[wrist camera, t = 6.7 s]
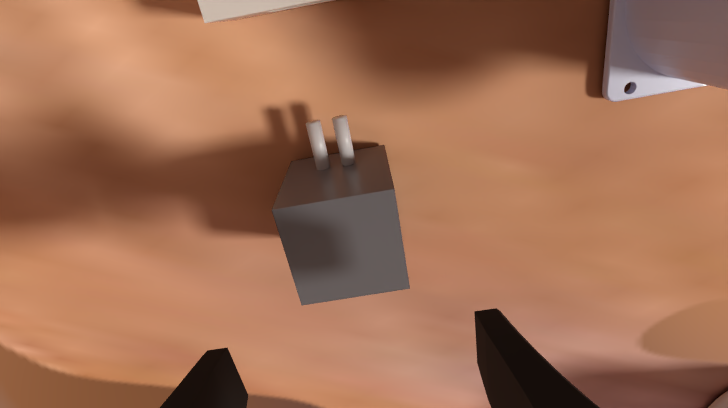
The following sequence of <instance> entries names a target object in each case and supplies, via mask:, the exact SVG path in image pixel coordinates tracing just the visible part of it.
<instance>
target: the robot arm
mask: <svg viewBox="0 0 728 408" xmlns="http://www.w3.org/2000/svg"><path fill="white" fill-rule="evenodd" d="M629 82H630V83H631V86H630V89H629V90H628V91H627V92H624V88H625V86H626V84H627V83H629ZM707 85H710V86H714V87H719V88H724V89H728V0H610V8H609V19H608V30H607V41H606V53H605V64H604V75H603V86H602V94H603V96H604V98H605V99H607V100H610V101H615V102H617V101H622V100H628V99H634V98H639V97H645V96H651V95H656V94H662V93H667V92H673V91H679V90H684V89H690V88H696V87H701V86H707ZM475 328H476V346H477V363H478V367H479V370H480V374H481V377H482V380H483V384H484V387H485V390H486V394H487V397H488V400H489V403H490V405H491V408H599V407H598V406H597V405H596V404H595V403H593V402H592V401H591V400H590V399H589V398H587V397H586V396H585V395H584V394H583V393H582V392H580V391H579V390H578V389H577V388H576V387H575V386H574V385H572V384H571V383H570V382H569V381H568V380H567V379H566V378H565V377H564V376H562V375H561V374H560V373H559V372H558V371H557V370H556V369H555V368H554V367H553V366H552V365H551V364H550V363H549V362H548V361H547V360H546V359H545V358H544V357H543V356H541V355H540V354H539V353H538V352H537V351H536V350H535V349H534V348H533V347H532V346H531V345H530V343H529V342H528V341H527V340H526V339H525V338H524V337H523V336H522V335H521V334H520V333H519V332H518V331H517V330H516V329H515V327H514V326H513V325H512V324H511V323H510V322H509V321H508V320H507V318H506V317H505V316H504V315H503V314H502V313H501V311H499V310H498V309H489V310H482V311H475ZM247 400H248V394H247V391H246V389H245V387H244V385H243V382H242V380H241V378H240V375H239V373H238V371H237V369H236V366H235V364H234V362H233V359H232V357H231V355H230V353H229V350H228V348H222V349H215V350H208V351H207V352H206V353H205V354H204V355H203V356H202V357H201V359H200V360H199V361H198V362H197V363H196V365H195V366H194V367H193V368H192V369H191V371H190V372H189V373H188V374H187V375H186V377H185V378H184V379H183V380H182V382H181V383H180V384H179V385H178V386H177V388H176V389H175V390H174V391H173V393H172V394H171V395H170V396H169V397H168V399H167V400H166V401H165V402H164V403H163V404H162V406H161V407H160V408H246V406H247Z"/></svg>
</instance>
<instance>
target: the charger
mask: <svg viewBox="0 0 728 408" xmlns="http://www.w3.org/2000/svg"><path fill="white" fill-rule="evenodd" d="M332 121H333V125H334V130H335V135H336V139H337V144H338V149H339V153H335V154H330V155H328V153H327V149H326V144H325V140H324V136H323V131H322V127H321V123H320V120H313V121H309V122H307V123H306V127H307V131H308V136H309V140H310V144H311V148H312V152H313V156H314V157H313V158H307V159H301V160H296V161H291V163H290V166H289V168H288V171H287V173H286V176H285V178H284V181H283V183H282V186H281V188H280V191H279V193H278V195H277V198H276V200H275V203H274V205H273V208H272V213H273V216H274V219H275V222H276V225H277V228H278V232H279V235H280V238H281V241H282V244H283V247H284V251H285V254H286V257H287V260H288V263H289V266H290V270H291V273H292V276H293V279H294V282H295V286H296V289H297V292H298V295H299V298H300V301H301V305H308V304H314V303H320V302H327V301H333V300H339V299H346V298H352V297H359V296H365V295H371V294H378V293H384V292H391V291H397V290H403V289H410V286H409V280H408V273H407V267H406V260H405V254H404V247H403V241H402V235H401V228H400V222H399V215H398V209H397V203H396V196H395V190H394V185H393V181H392V176H391V172H390V168H389V164H388V159H387V155H386V151H385V146H384V145H380V146H375V147H369V148H363V149H358V150H353V146H352V141H351V136H350V131H349V126H348V120H347V116H346V115H340V116H336V117H333V118H332Z"/></svg>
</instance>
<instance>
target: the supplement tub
mask: <svg viewBox="0 0 728 408" xmlns="http://www.w3.org/2000/svg"><path fill="white" fill-rule="evenodd" d="M708 408H728V391H727V392H725V393H724V394H722V395H721V396H720V397H719V398H717V399H716V400H715V401H714V402H713V403H712V404H711V405H710V406H709V407H708Z"/></svg>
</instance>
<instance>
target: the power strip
mask: <svg viewBox="0 0 728 408" xmlns="http://www.w3.org/2000/svg"><path fill="white" fill-rule="evenodd" d="M197 1H198V4H199V7H200V10H201V13H202V16H203V19H204V23H212V22H222V21H232V20H238V19H243V18H248V17H253V16H258V15H263V14H268V13H273V12H278V11H283V10H288V9H293V8H299V7H304V6H309V5H314V4H319V3H324V2H329V1H334V0H197Z"/></svg>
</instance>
